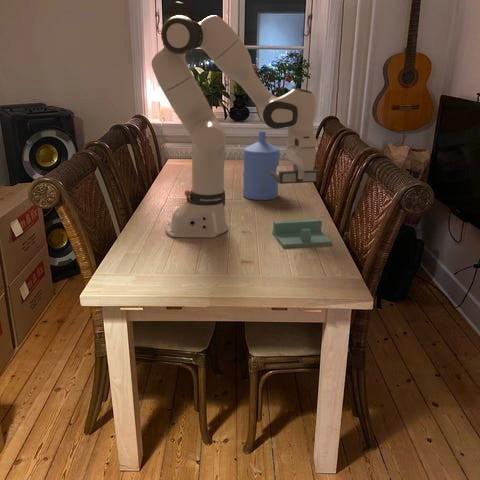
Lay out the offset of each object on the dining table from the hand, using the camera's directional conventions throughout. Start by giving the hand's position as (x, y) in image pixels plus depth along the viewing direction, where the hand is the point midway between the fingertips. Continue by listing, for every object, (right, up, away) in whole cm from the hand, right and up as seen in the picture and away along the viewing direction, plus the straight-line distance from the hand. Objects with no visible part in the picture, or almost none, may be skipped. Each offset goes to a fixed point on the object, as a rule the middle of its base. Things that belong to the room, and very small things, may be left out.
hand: (298, 177), depth 178 cm
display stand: (+1, -22, -3) cm, 22 cm away
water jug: (-11, -3, +47) cm, 48 cm away
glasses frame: (-1, 0, +6) cm, 6 cm away
